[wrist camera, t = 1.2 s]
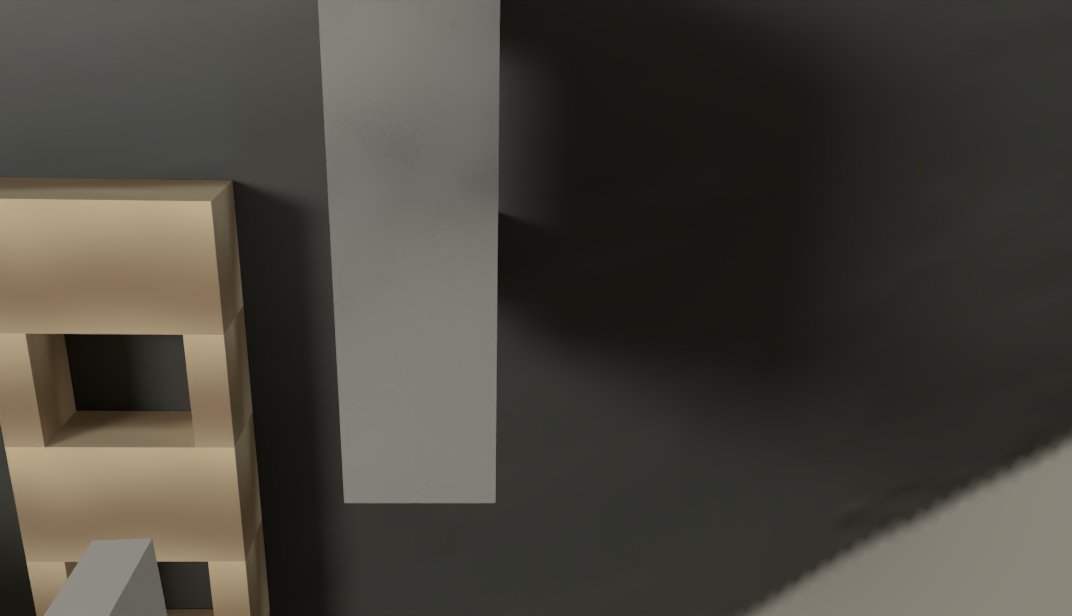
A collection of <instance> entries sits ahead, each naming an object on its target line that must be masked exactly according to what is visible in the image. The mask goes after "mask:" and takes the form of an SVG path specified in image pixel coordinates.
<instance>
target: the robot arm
mask: <svg viewBox="0 0 1072 616" xmlns="http://www.w3.org/2000/svg"><path fill="white" fill-rule="evenodd" d="M44 616H167V611H166V606H165V601H164V596H163V591H162V586H161V580H160V575H159V570H158V565H157V560H156V555H155V550H154V545H153V540H152V538H143V539H116V540H92V542H91V543H90V545H89V547H88V548H87V550H86V551H85V553H84V554H83V556H82V557H81V559H80V560H79V562H78V563H77V565H76V567H75V568H74V570H73V571H72V573H71V574H70V576H69V577H68V579H67V580H66V582H65V583H64V585H63V587H62V588H61V590H60V591H59V593H58V594H57V596H56V597H55V599H54V600H53V602H52V603H51V605H50V607H49V608H48V610H47V611H46V613H45V614H44Z"/></svg>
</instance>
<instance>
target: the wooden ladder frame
mask: <svg viewBox="0 0 1072 616" xmlns="http://www.w3.org/2000/svg"><path fill="white" fill-rule="evenodd" d="M64 334H163V335H183V340H184V349H185V358H186V367H187V376H188V385H189V394H190V403H191V411H76V407H75V400H74V394H73V388H72V381H71V375H70V368H69V362H68V356H67V349H66V343H65V336H64ZM0 423H1V428H2V434H3V439H4V444H5V450H6V455H7V460H8V466H9V471H10V476H11V482H12V487H13V492H14V498H15V503H16V509H17V514H18V519H19V525H20V530H21V535H22V541H23V546H24V551H25V557H26V562H27V567H28V573H29V578H30V583H31V589H32V594H33V599H34V605H35V610H36V615H37V616H44V614H45V613H46V611H47V610H48V608H49V607H50V605H51V603H52V602H53V600H54V599H55V597H56V596H57V594H58V593H59V591H60V590H61V588H62V587H63V585H64V583H65V582H66V580H67V579H68V577H69V576H70V574H71V573H72V571H73V570H74V568H75V567H76V565H77V563H78V562H79V560H80V559H81V557H82V556H83V554H84V553H85V551H86V550H87V548H88V547H89V545H90V543H91V542H92V540H116V539H143V538H152V540H153V545H154V550H155V555H156V560H157V562H187V561H208V566H209V575H210V584H211V593H212V602H213V609H166V611H167V616H270V607H269V596H268V584H267V573H266V561H265V550H264V538H263V526H262V515H261V503H260V492H259V480H258V469H257V457H256V446H255V434H254V423H253V411H252V400H251V388H250V376H249V365H248V353H247V342H246V330H245V319H244V307H243V296H242V284H241V273H240V261H239V249H238V238H237V226H236V215H235V203H234V192H233V180H172V179H95V178H19V177H0Z"/></svg>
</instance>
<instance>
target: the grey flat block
mask: <svg viewBox="0 0 1072 616" xmlns="http://www.w3.org/2000/svg"><path fill="white" fill-rule="evenodd" d="M318 11H319V30H320V49H321V68H322V87H323V106H324V125H325V144H326V164H327V183H328V202H329V221H330V240H331V259H332V278H333V297H334V316H335V335H336V355H337V374H338V393H339V412H340V431H341V450H342V469H343V488H344V503H495V481H496V376H497V271H498V166H499V60H500V0H318Z"/></svg>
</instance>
